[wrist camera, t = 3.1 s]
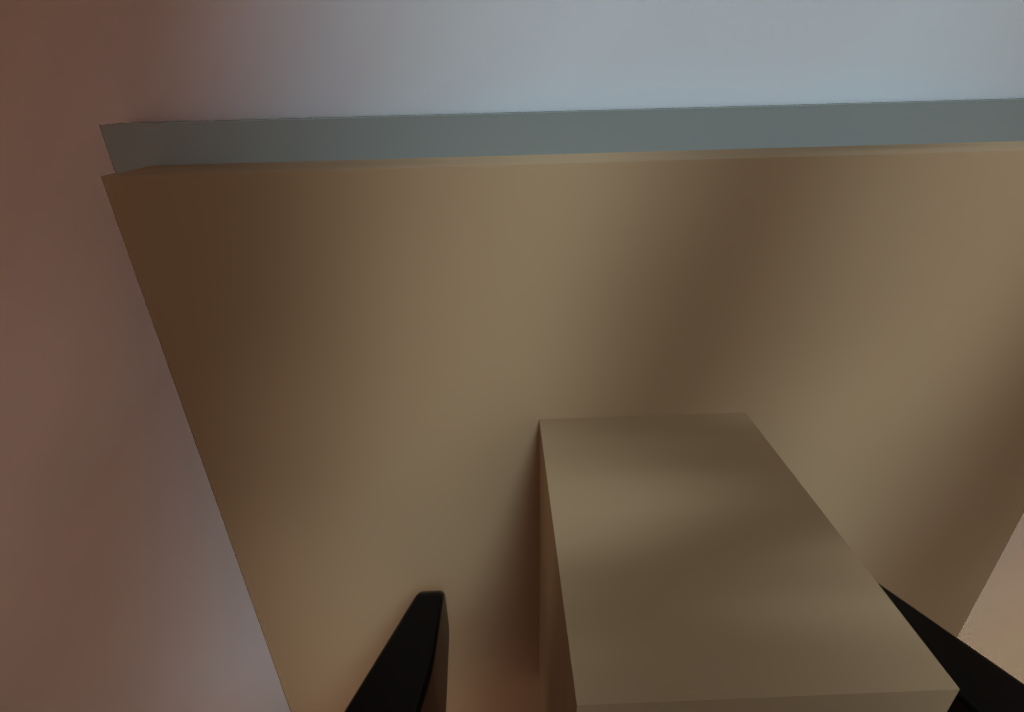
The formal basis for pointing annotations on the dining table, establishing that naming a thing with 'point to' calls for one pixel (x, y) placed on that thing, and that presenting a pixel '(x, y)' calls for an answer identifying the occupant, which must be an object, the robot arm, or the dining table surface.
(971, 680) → the robot arm
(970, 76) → the dining table surface
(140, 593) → the dining table surface
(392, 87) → the dining table surface
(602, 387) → the walnut lid
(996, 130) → the rubber mat
